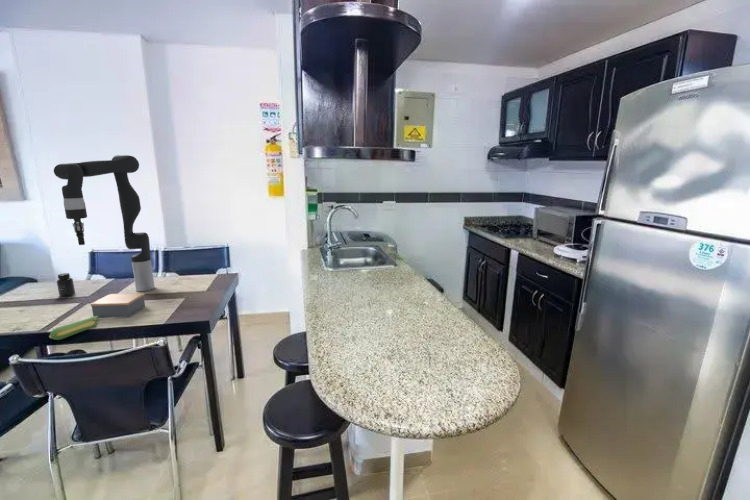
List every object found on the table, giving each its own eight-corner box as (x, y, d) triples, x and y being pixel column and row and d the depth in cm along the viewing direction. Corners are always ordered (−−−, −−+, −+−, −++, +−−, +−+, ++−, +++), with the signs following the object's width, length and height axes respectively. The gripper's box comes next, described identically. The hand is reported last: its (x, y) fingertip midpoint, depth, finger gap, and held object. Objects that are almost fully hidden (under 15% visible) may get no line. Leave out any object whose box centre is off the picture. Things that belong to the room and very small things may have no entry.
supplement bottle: (78, 293, 197) (74, 273, 194) (64, 297, 190) (60, 276, 188) (70, 292, 199) (66, 272, 196) (56, 296, 193) (52, 275, 190)
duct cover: (110, 295, 176) (110, 293, 176) (144, 295, 177) (144, 293, 177) (90, 305, 163) (90, 303, 162) (127, 305, 164) (127, 303, 163)
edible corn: (44, 331, 141) (50, 330, 139) (97, 314, 159) (103, 313, 158) (48, 343, 141) (55, 342, 140) (101, 325, 160) (107, 323, 158)
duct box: (112, 307, 177) (110, 296, 176) (145, 306, 178) (143, 295, 177) (93, 317, 164) (91, 305, 163) (129, 316, 165) (127, 304, 164)
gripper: (85, 208, 160) (92, 246, 163) (85, 206, 170) (91, 241, 174) (63, 209, 155) (71, 248, 159) (65, 207, 165) (72, 243, 169)
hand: (82, 244), depth 166 cm, fingers closed
